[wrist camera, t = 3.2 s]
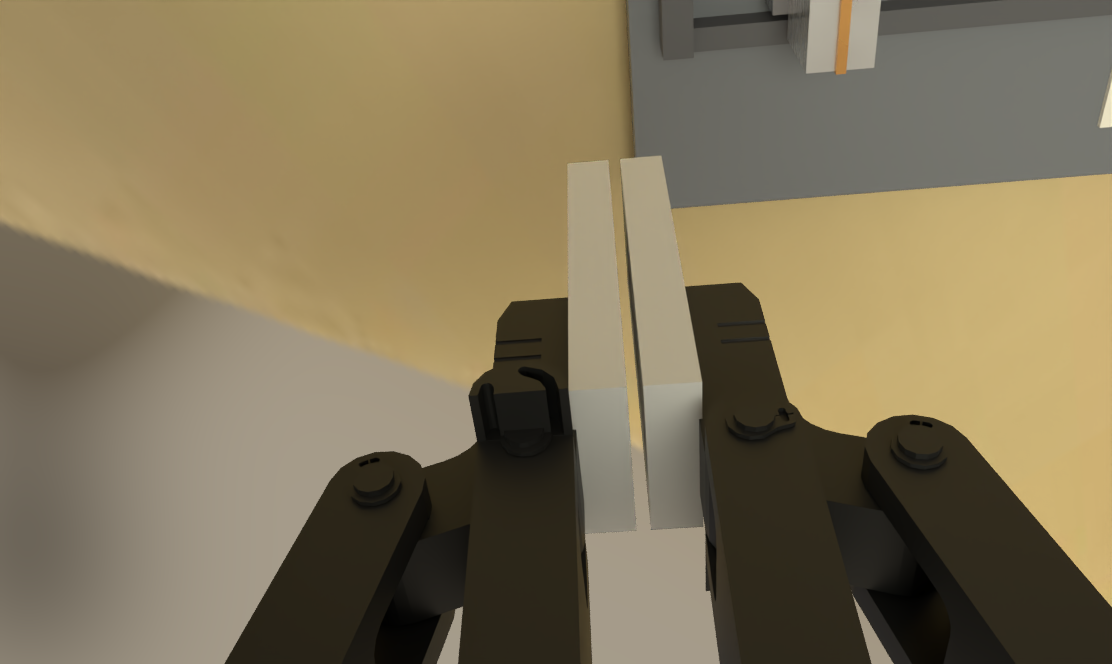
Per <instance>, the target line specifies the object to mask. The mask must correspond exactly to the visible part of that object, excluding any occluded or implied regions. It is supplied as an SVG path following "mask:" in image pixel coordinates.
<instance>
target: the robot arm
mask: <svg viewBox="0 0 1112 664" xmlns="http://www.w3.org/2000/svg"><path fill="white" fill-rule="evenodd" d="M620 166H621V183H622V199H623V215H624V232H625V248H626V264H627V280H628V292H629V302H630V313H631V323H632V334H633V344H634V355H635V365H636V376H637V387H638V397H639V408H640V418H641V429H642V439H643V450H644V460H645V471H646V481H647V492H648V502H649V512H650V524H651V530H656V529H672V528H689V527H703V517H704V524H705V531H706V591H710V592H711V600H712V607H713V615H714V622H715V630H716V638H717V645H718V652H719V661H720V664H871V660H870V657H869V653H868V649H867V646H866V642H865V638H864V635H863V631H862V628H861V624H860V620H859V617H858V613H857V610H856V606H855V602H854V599H853V596H854V598H855V599H856V601H857V603H858V604H859V606H860V607H861V609H862V611H863V613H864V614H865V616H866V618H867V619H868V621H869V623H870V625H871V626H872V628H873V629H874V631H875V633H876V634H877V636H878V638H879V640H880V641H881V643H882V645H883V646H884V648H885V649H886V652H887V653H888V655H889V657H890V658H891V660H892V662H893V663H894V664H1112V607H1111V606H1110V605H1109V604H1108V602H1107V601H1106V600H1105V599H1104V598H1103V596H1102V595H1101V594H1100V593H1099V592H1098V591H1097V589H1096V588H1095V587H1094V586H1093V585H1092V584H1091V582H1090V581H1089V580H1088V579H1087V578H1086V577H1085V575H1084V574H1083V573H1082V572H1081V571H1080V570H1079V568H1078V567H1077V566H1076V565H1075V564H1074V563H1073V561H1072V560H1071V559H1070V558H1069V557H1068V556H1067V554H1066V553H1065V552H1064V551H1063V550H1062V549H1061V547H1060V546H1059V545H1058V544H1057V543H1056V542H1055V540H1054V539H1053V538H1052V537H1051V536H1050V535H1049V533H1048V532H1047V531H1046V530H1045V529H1044V528H1043V526H1042V525H1041V524H1040V523H1039V522H1038V521H1037V519H1036V518H1035V517H1034V516H1033V515H1032V514H1031V512H1030V511H1029V510H1028V509H1027V508H1026V507H1025V505H1024V504H1023V503H1022V502H1021V501H1020V500H1019V498H1018V497H1017V496H1016V495H1015V494H1014V493H1013V491H1012V490H1011V489H1010V488H1009V487H1008V486H1007V484H1006V483H1005V482H1004V481H1003V480H1002V479H1001V477H1000V476H999V475H998V474H997V473H996V472H995V470H994V469H993V468H992V467H991V466H990V465H989V463H988V462H987V461H986V460H985V459H984V458H983V456H982V455H981V454H980V453H979V452H978V451H977V449H976V448H975V447H974V446H973V445H972V444H971V442H970V441H969V440H968V439H967V438H966V437H965V436H964V435H963V434H961V433H960V432H959V431H958V430H956V429H955V428H954V427H953V426H951V425H949V424H946V423H944V422H941V421H939V420H937V419H934V418H930V417H924V416H918V415H903V416H893V417H891V418H888V419H886V420H883V421H881V422H878V423H877V424H876V425H875V426H874V427H873V428H872V429H871V430H870V431H869V432H868V433H867V438H865V437H859V436H853V435H847V434H841V433H836V432H832V431H828V430H824V429H822V428H820V427H817V426H815V425H813V424H811V423H809V422H808V421H806V420H805V419H803V418H802V416H801V414H800V412H799V411H798V409H797V408H796V407H795V406H794V405H792V404H791V403H789V401H788V399H787V396H786V392H785V389H784V385H783V382H782V378H781V375H780V371H779V368H778V364H777V361H776V357H775V354H774V350H773V347H772V344H771V340H770V339H769V333H768V330H767V326H766V324H765V319H764V316H763V312H762V309H761V305H760V302H759V299H758V298H757V297H756V296H755V295H754V294H752V293H751V292H750V291H749V290H748V289H747V288H746V287H745V286H744V285H743V284H742V283H728V284H715V285H701V286H688V287H685V284H684V278H683V273H682V267H681V262H680V256H679V251H678V245H677V240H676V234H675V229H674V223H673V218H672V212H671V206H670V201H669V195H668V190H667V184H666V179H665V173H664V168H663V162H662V157H661V156H649V157H637V158H625V159H620ZM567 169H568V298H555V299H542V300H528V301H515V302H511V303H510V305H509V306H508V308H507V309H506V310H505V312H504V313H503V314H502V316H501V317H500V318H499V320H498V322H497V332H496V345H495V353H494V363H493V369H492V370H489V371H487V372H485V373H484V374H483V375H482V376H481V377H480V378H479V379H478V380H477V381H476V382H474V383H473V386H472V388H471V391H470V394H469V401H470V406H471V411H472V417H473V422H474V427H475V432H476V437H477V442H476V443H475V444H474V445H473V446H472V447H471V448H469V449H468V450H466V451H465V452H463V453H461V454H460V455H458V456H456V457H454V458H451V459H448V460H446V461H444V462H440V463H437V464H434V465H430V466H427V467H424V468H422V467H421V465H420V464H419V463H418V462H417V461H415V460H414V459H413V458H411V457H410V456H409V455H405V454H401V453H397V452H394V451H393V452H374V453H371V454H368V455H365V456H362V457H359V458H356V459H355V460H353V461H351V462H350V463H348V464H346V465H345V466H343V467H342V468H341V469H340V470H339V471H338V472H337V473H336V474H335V476H334V477H333V478H332V479H331V480H330V482H329V483H328V485H327V487H326V489H325V490H324V492H323V494H322V496H321V497H320V499H319V501H318V503H317V504H316V506H315V508H314V509H313V511H312V513H311V515H310V516H309V518H308V520H307V522H306V523H305V525H304V527H303V528H302V530H301V532H300V534H299V535H298V537H297V539H296V541H295V542H294V544H293V546H292V548H291V549H290V551H289V553H288V555H287V556H286V558H285V560H284V561H283V563H282V565H281V567H280V568H279V570H278V572H277V574H276V575H275V577H274V579H273V580H272V582H271V584H270V586H269V587H268V589H267V591H266V593H265V594H264V596H263V598H262V600H261V601H260V603H259V605H258V606H257V608H256V610H255V612H254V613H253V615H252V617H251V619H250V621H249V622H248V624H247V626H246V627H245V629H244V631H243V632H242V634H241V636H240V638H239V639H238V641H237V643H236V645H235V646H234V648H233V650H232V652H231V653H230V655H229V657H228V659H227V660H226V662H225V664H437V661H438V658H439V656H440V653H441V651H442V648H443V645H444V643H445V640H446V638H447V635H448V632H449V630H450V627H451V624H452V622H453V619H454V614H455V609H457V608H460V607H463V615H462V626H461V638H460V649H459V662H458V664H592V653H591V652H592V651H591V626H590V603H589V580H588V560H587V551H586V543H585V534H588V533H606V532H623V531H636V517H635V502H634V487H633V472H632V458H631V442H630V427H629V412H628V397H627V383H626V371H625V358H624V346H623V334H622V321H621V309H620V297H619V284H618V272H617V260H616V247H615V235H614V222H613V210H612V198H611V185H610V173H609V161H608V160H601V161H589V162H577V163H567ZM851 591H852V592H851ZM852 594H853V595H852Z"/></svg>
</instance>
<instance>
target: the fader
mask: <svg viewBox="0 0 1112 664" xmlns="http://www.w3.org/2000/svg"><path fill="white" fill-rule="evenodd" d="M765 2H766V4H767V6H768V8H769V10H770V12H771V13H772V15H784V14H788V35H787V39H788V41H789V43H790V45H791V47H792V48H793V50H794V52H795V54H796V56H797V58H798V60H799V62H800V63H801V65H802V67H803V69H804V71H805V73H806V74H808V73H820V72H831V71H834V72H835V74H836V75H838V74H846V70H854V69H865V68H874V64H875V54H876V44H877V35H878V25H879V15H880V5H881V0H765Z"/></svg>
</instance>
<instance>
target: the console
mask: <svg viewBox="0 0 1112 664" xmlns="http://www.w3.org/2000/svg"><path fill="white" fill-rule="evenodd" d="M626 11H627V30H628V49H629V69H630V88H631V107H632V126H633V146H634V158H637V157H649V156H661V157H662V162H663V168H664V173H665V179H666V184H667V190H668V195H669V201H670V206H671V209H673V208H685V207H698V206H711V205H723V204H736V203H748V202H761V201H773V200H786V199H798V198H811V197H824V196H836V195H849V194H861V193H874V192H886V191H899V190H911V189H924V188H937V187H949V186H962V185H974V184H987V183H999V182H1012V181H1024V180H1037V179H1050V178H1062V177H1075V176H1087V175H1100V174H1112V0H881V5H880V15H879V25H878V35H877V44H876V54H875V64H874V68H865V69H854V70H846V74H838V75H836V74H835V72H834V71H831V72H820V73H808V74H806V73H805V71H804V69H803V67H802V65H801V63H800V62H799V60H798V58H797V56H796V54H795V52H794V50H793V48H792V47H791V45H790V43H789V41H788V39H787V35H788V14H784V15H772V13H771V12H770V10H769V8H768V6H767V4H766V2H765V0H626Z"/></svg>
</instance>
